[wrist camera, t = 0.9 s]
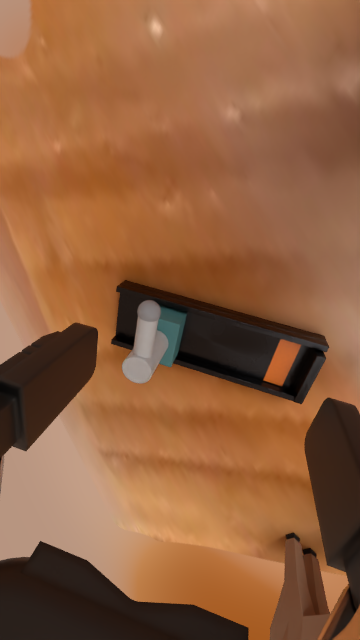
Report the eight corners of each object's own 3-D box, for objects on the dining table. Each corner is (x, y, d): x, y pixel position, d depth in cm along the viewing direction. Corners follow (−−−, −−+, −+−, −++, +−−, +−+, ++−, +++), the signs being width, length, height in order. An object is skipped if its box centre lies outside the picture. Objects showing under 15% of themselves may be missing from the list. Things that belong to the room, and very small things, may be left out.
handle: (155, 270, 28) (120, 299, 21) (194, 281, 27) (172, 314, 20) (144, 341, 31) (111, 386, 24) (178, 352, 31) (154, 401, 24)
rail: (125, 279, 30) (111, 289, 28) (324, 335, 28) (332, 352, 25) (119, 334, 34) (106, 348, 31) (297, 389, 31) (301, 410, 28)
